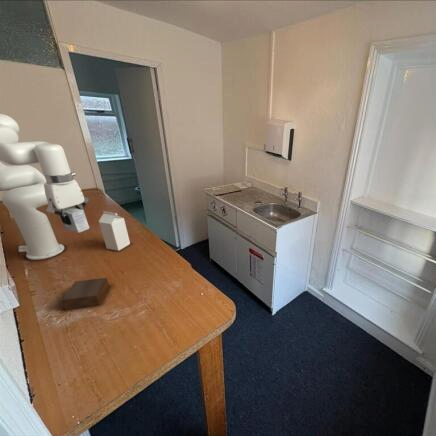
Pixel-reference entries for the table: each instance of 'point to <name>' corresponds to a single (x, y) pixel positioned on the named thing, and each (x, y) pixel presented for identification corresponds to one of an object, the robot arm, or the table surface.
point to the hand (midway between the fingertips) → (74, 221)
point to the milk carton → (114, 231)
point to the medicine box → (76, 220)
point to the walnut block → (85, 293)
